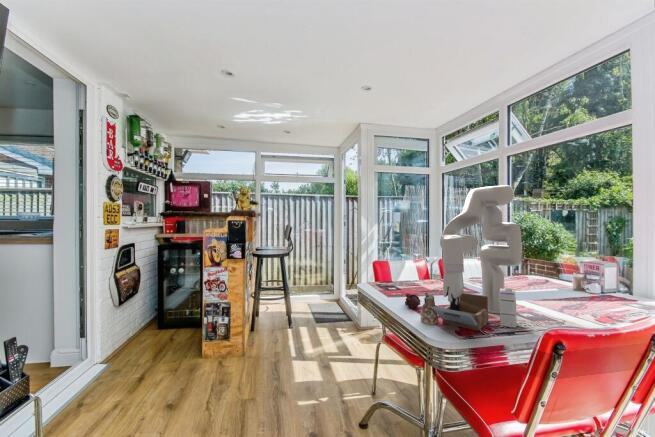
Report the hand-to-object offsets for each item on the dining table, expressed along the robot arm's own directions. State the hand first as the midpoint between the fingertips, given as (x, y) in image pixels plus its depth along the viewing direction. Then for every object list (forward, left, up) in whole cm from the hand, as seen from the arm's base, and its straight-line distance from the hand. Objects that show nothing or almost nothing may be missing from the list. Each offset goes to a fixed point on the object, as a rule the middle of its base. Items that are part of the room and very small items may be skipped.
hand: (455, 313), depth 117 cm
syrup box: (-20, +14, -7) cm, 26 cm away
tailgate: (-4, 0, -4) cm, 6 cm away
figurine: (-2, -12, -7) cm, 14 cm away
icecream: (-17, -27, -7) cm, 32 cm away
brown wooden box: (-11, 0, -7) cm, 13 cm away
